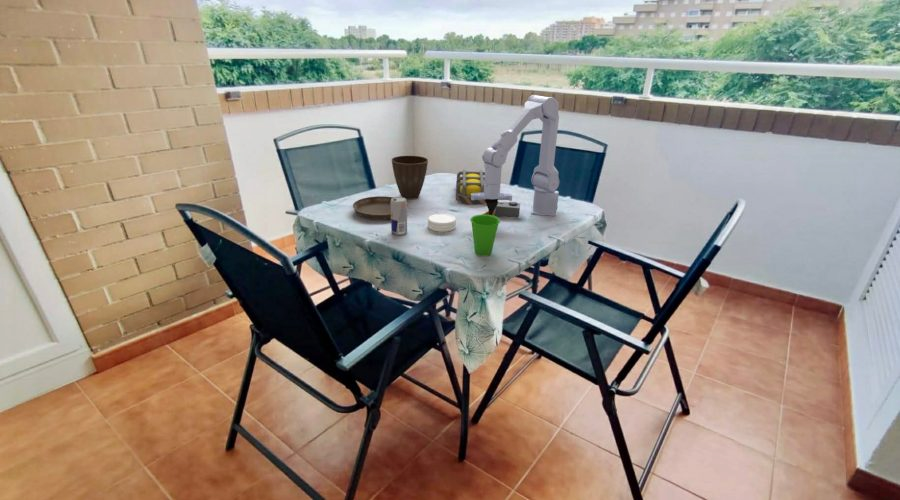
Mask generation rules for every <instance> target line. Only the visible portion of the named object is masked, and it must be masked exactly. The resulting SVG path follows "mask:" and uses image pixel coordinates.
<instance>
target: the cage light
mask: <svg viewBox="0 0 900 500" xmlns="http://www.w3.org/2000/svg"><path fill="white" fill-rule="evenodd" d="M461 175H462V176H461ZM484 180H485V171H483V170H482V169H480V170H479V171H470V170H469V171H467V170H466V169H463V170H461V171H458V172H457V174H456V180H455V181H456V183H455V201H457V202H458V203H460V204H462V205H468V206H480V205H485V204H486V202H485V200H471V193H484ZM486 205H487V204H486Z"/></svg>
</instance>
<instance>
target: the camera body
mask: <svg viewBox="0 0 900 500" xmlns="http://www.w3.org/2000/svg"><path fill="white" fill-rule="evenodd" d="M520 209H521V203H520V202H517V201H504V200H498V205H497V206H496V213H495V215H494V216H495V217H499V218H500V217H501V218H512V219H514V218H515V219H520Z"/></svg>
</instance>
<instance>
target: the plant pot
mask: <svg viewBox="0 0 900 500" xmlns="http://www.w3.org/2000/svg"><path fill="white" fill-rule="evenodd" d="M428 163H429V159H428V158H426V157H424V156H418V155H400V156H394V157H392V158H391V165H392V166H391V167H392V170H393V171H392V172H393V176H394V179H395V183H396V187H397V188H398V192H399V195H400V197H404V198H406V200H416V199H418V198H419V197H420V194H421V192H422V190H423V186H424V183H425V178H426V175H427V169H428Z"/></svg>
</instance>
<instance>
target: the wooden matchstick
mask: <svg viewBox="0 0 900 500" xmlns="http://www.w3.org/2000/svg"><path fill="white" fill-rule="evenodd" d="M495 213H496V208H495V210H494V212H493V214H492V216H494V215H495ZM481 215H489V210H486V211H484V212H483V213H482V214H481Z"/></svg>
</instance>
